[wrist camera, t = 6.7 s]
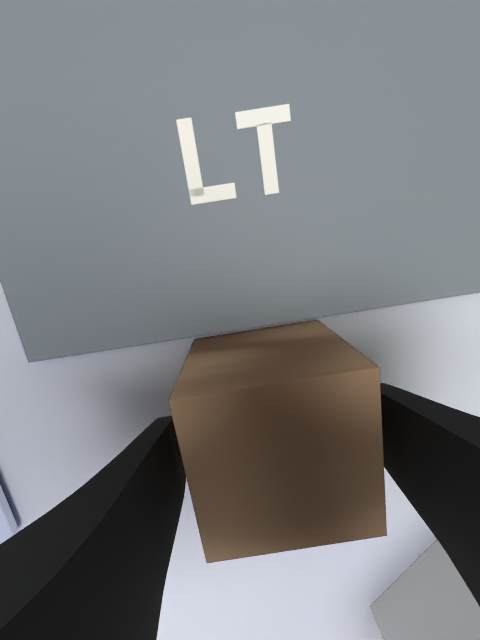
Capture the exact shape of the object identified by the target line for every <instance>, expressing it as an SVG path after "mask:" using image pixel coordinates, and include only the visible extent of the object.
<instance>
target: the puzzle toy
mask: <svg viewBox="0 0 480 640" xmlns="http://www.w3.org/2000/svg"><path fill="white" fill-rule="evenodd" d="M371 608H372V611H373V614H374V616H375V619H376V621H377V624H378V626H379V629H380V631H381V634H382V636H383V639H384V640H480V607H479V605H478V603H477V602H476V600H475V598H474V597H473V595H472V593H471V592H470V590H469V588H468V587H467V585H466V584H465V582H464V580H463V579H462V577H461V576H460V574H459V572H458V571H457V569H456V567H455V566H454V564H453V563H452V561H451V559H450V558H449V556H448V555H447V553H446V551H445V550H444V549H443V547H442V546H441V544H440V543H439V541H438V540H436V541H435V542H434V543H433V544H432V545H431V546H430V547H429V548H428V549H427V550H426V551H425V552H424V553H423V554H422V555H421V556H420V557H419V558H418V559H417V560H416V561H415V562H414V563H413V564H412V565H411V566H410V567H409V568H408V569H407V570H406V571H405V572H404V573H403V574H402V575H401V576H400V577H399V578H398V579H397V580H396V581H395V582H394V583H393V584H392V585H391V586H390V587H389V588H388V589H387V590H386V591H385V592H384V593H383V594H382V595H381V596H380V597H379V598H378V599H377V600H376V601H375V602H374V603H373V604H372V605H371Z"/></svg>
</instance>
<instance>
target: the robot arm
mask: <svg viewBox="0 0 480 640" xmlns="http://www.w3.org/2000/svg"><path fill="white" fill-rule="evenodd" d="M380 392H381V414H382V437H383V460H384V467H385V469H386V470H387V471H388V473H389V474H390V476H391V477H392V478H393V480H394V481H395V482H396V484H397V485H398V487H399V488H400V489H401V491H402V492H403V493H404V495H405V496H406V497H407V499H408V500H409V501H410V503H411V504H412V505H413V507H414V508H415V510H416V511H417V512H418V514H419V515H420V516H421V518H422V519H423V520H424V522H425V523H426V524H427V526H428V527H429V529H430V530H431V531H432V533H433V534H434V535H435V537H436V538H437V540H438V541H439V543H440V544H441V546H442V547H443V549H444V550H445V551H446V553H447V555H448V556H449V558H450V559H451V561H452V563H453V564H454V566H455V567H456V569H457V571H458V572H459V574H460V576H461V577H462V579H463V580H464V582H465V584H466V585H467V587H468V588H469V590H470V592H471V593H472V595H473V597H474V598H475V600H476V602H477V603H478V605H479V607H480V417H477V416H474V415H471V414H468V413H465V412H462V411H459V410H457V409H454V408H451V407H448V406H445V405H443V404H440V403H437V402H435V401H432V400H429V399H427V398H424V397H421V396H419V395H416V394H413V393H411V392H408V391H405V390H403V389H400V388H397V387H394V386H391V385H388V384H384V383H381V384H380ZM185 483H186V473H185V469H184V465H183V460H182V456H181V452H180V448H179V443H178V439H177V435H176V431H175V426H174V422H173V418H172V416H167V417H161V418H157V419H156V420H155V421H154V422H153V423H151V424H150V425H149V426H148V427H147V428H146V429H145V430H144V431H143V432H142V433H141V434H140V435H139V436H138V437H137V438H136V439H135V440H134V441H132V442H131V443H130V444H129V445H128V446H127V447H126V448H125V449H124V450H123V451H122V452H121V453H120V454H119V455H118V456H116V457H115V458H114V459H113V460H112V461H111V462H110V463H109V464H107V465H106V466H105V467H104V468H103V469H102V470H100V471H99V472H98V473H97V474H96V475H95V476H94V477H92V478H91V479H90V480H89V481H88V482H87V483H85V484H84V485H83V486H82V487H80V488H79V489H78V490H77V491H75V492H74V493H73V494H71V495H70V496H69V497H67V498H66V499H65V500H63V501H62V502H61V503H59V504H58V505H57V506H56V507H54V508H53V509H51V510H50V511H49V512H47V513H46V514H44V515H43V516H41V517H40V518H38V519H37V520H36V521H34V522H33V523H31V524H30V525H28V526H27V527H25V528H24V529H22V530H21V531H19V532H18V533H16V532H17V530H18V527H17V524H16V521H15V519H14V516H13V514H12V512H11V509H10V507H9V504H8V502H7V500H6V497H5V495H4V492H3V490H2V488H1V485H0V543H1V544H0V640H156V638H157V631H158V624H159V617H160V610H161V603H162V596H163V590H164V585H165V580H166V575H167V570H168V566H169V561H170V557H171V553H172V548H173V544H174V539H175V535H176V531H177V526H178V522H179V517H180V513H181V508H182V503H183V499H184V492H185Z"/></svg>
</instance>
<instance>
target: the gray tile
mask: <svg viewBox="0 0 480 640" xmlns="http://www.w3.org/2000/svg"><path fill="white" fill-rule="evenodd" d="M0 281H1V284H2V287H3V290H4V293H5V296H6V299H7V302H8V305H9V307H10V310H11V313H12V316H13V319H14V322H15V325H16V328H17V331H18V333H19V336H20V339H21V342H22V345H23V348H24V351H25V354H26V357H27V359H28V362H35V361H41V360H48V359H54V358H61V357H67V356H74V355H80V354H87V353H93V352H99V351H106V350H112V349H119V348H125V347H132V346H138V345H145V344H151V343H157V342H164V341H170V340H177V339H183V338H190V337H196V336H203V335H209V334H215V333H222V332H228V331H235V330H241V329H248V328H254V327H261V326H267V325H273V324H280V323H286V322H293V321H299V320H306V319H312V318H319V317H325V316H331V315H338V314H344V313H351V312H357V311H364V310H370V309H377V308H383V307H389V306H396V305H402V304H409V303H415V302H422V301H428V300H435V299H441V298H447V297H454V296H460V295H467V294H473V293H480V0H0Z"/></svg>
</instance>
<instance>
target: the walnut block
mask: <svg viewBox="0 0 480 640" xmlns="http://www.w3.org/2000/svg"><path fill="white" fill-rule="evenodd" d="M168 401H169V405H170V409H171V414H172V418H173V422H174V426H175V431H176V435H177V439H178V443H179V448H180V452H181V456H182V460H183V465H184V469H185V473H186V477H187V482H188V486H189V490H190V494H191V499H192V503H193V507H194V511H195V516H196V520H197V524H198V528H199V533H200V537H201V541H202V545H203V550H204V554H205V558H206V562H207V563H212V562H218V561H225V560H231V559H238V558H244V557H251V556H257V555H264V554H270V553H277V552H283V551H290V550H297V549H303V548H310V547H316V546H323V545H329V544H336V543H342V542H349V541H355V540H362V539H368V538H375V537H381V536H387V528H386V505H385V482H384V460H383V437H382V414H381V392H380V369H379V366H377V365H376V364H375V363H373V362H372V361H371V360H369V359H368V358H367V357H365V356H364V355H363V354H362V353H360V352H359V351H358V350H356V349H355V348H354V347H352V346H351V345H350V344H348V343H347V342H346V341H345V340H343V339H342V338H341V337H339V336H338V335H337V334H335V333H334V332H333V331H331V330H330V329H329V328H328V327H326V326H325V325H324V324H322V323H321V322H320V321H318V320H311V321H305V322H299V323H292V324H286V325H280V326H273V327H267V328H261V329H254V330H248V331H242V332H235V333H229V334H223V335H217V336H210V337H204V338H198V339H194V342H193V344H192V346H191V349H190V351H189V353H188V356H187V358H186V360H185V363H184V365H183V367H182V370H181V372H180V374H179V377H178V379H177V381H176V384H175V386H174V388H173V391H172V393H171V395H170V398H169V400H168Z"/></svg>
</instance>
